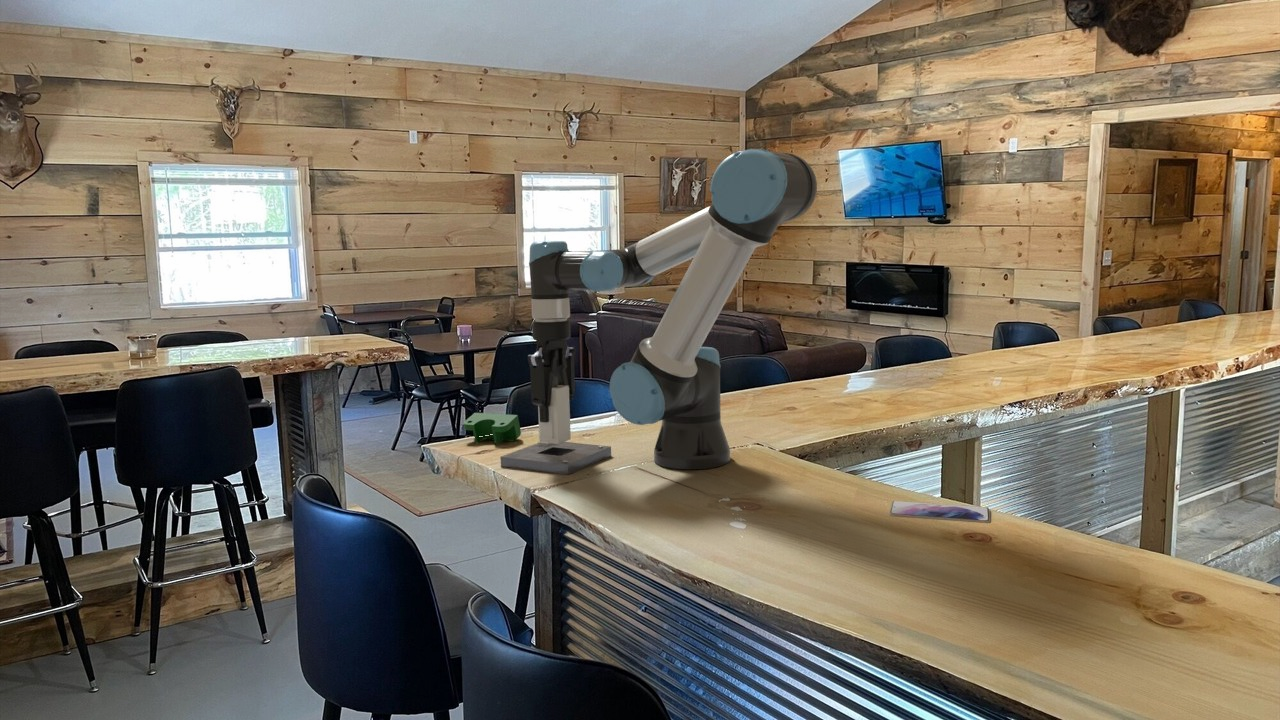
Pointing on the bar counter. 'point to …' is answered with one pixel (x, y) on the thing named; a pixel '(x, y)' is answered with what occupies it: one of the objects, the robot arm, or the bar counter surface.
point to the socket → (556, 457)
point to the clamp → (493, 427)
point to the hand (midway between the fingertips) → (555, 434)
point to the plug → (559, 414)
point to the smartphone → (940, 511)
